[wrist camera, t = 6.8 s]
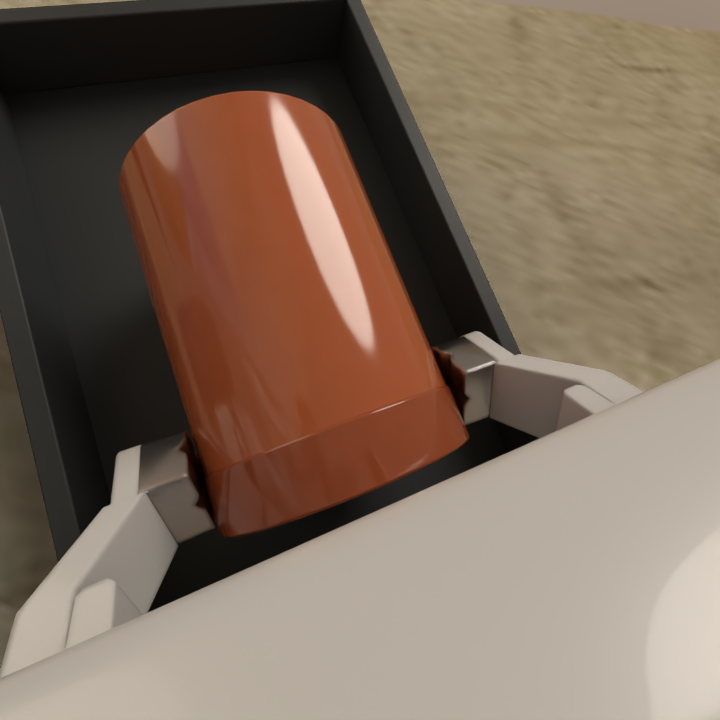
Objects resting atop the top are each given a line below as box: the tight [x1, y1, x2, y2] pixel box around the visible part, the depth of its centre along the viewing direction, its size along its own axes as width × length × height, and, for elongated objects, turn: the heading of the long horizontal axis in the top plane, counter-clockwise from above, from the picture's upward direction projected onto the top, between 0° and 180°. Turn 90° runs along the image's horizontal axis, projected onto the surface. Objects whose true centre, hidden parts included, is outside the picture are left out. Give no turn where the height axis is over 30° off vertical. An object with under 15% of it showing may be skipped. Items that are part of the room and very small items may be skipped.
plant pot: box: [119, 91, 469, 538], centre depth 11 cm, size 7×7×9 cm
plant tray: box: [0, 0, 539, 612], centre depth 14 cm, size 21×14×3 cm
